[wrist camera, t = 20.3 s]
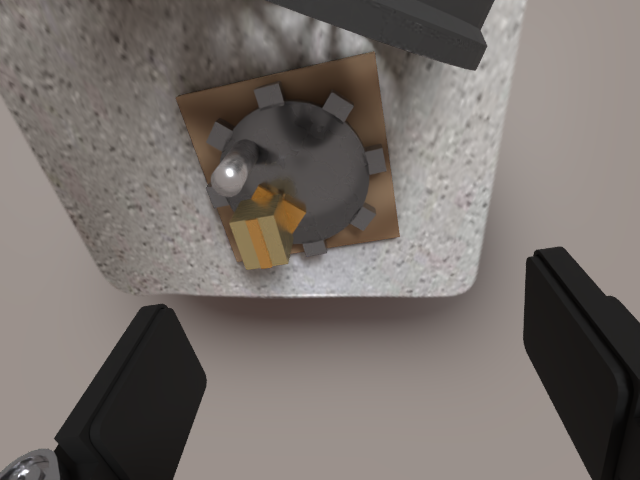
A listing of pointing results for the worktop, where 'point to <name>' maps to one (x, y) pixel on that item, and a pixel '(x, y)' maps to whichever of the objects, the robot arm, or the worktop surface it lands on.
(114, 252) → the worktop surface
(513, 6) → the worktop surface
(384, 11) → the wheel rim
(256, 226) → the tan block with orange
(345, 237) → the sprocket base
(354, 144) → the sprocket
